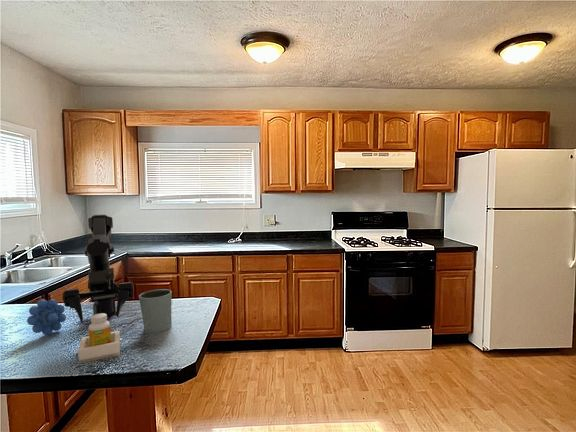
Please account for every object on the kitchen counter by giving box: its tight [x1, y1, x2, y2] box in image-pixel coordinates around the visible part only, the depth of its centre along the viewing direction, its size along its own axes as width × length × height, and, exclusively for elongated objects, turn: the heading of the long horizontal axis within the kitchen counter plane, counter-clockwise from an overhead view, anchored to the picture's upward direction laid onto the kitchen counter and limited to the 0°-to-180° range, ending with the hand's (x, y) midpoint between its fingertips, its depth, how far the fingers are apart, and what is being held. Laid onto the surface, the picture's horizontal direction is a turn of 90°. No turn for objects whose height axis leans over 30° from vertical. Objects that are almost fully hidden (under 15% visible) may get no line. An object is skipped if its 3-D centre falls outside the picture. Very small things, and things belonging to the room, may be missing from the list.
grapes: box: [26, 298, 67, 336], centre depth 110 cm, size 12×7×12 cm, turn 156°
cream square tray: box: [77, 330, 121, 364], centre depth 97 cm, size 10×10×4 cm
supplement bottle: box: [88, 313, 112, 347], centre depth 97 cm, size 5×5×10 cm
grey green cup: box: [138, 288, 173, 335], centre depth 113 cm, size 10×10×12 cm
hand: (99, 319), depth 100 cm, fingers open, 9 cm apart
